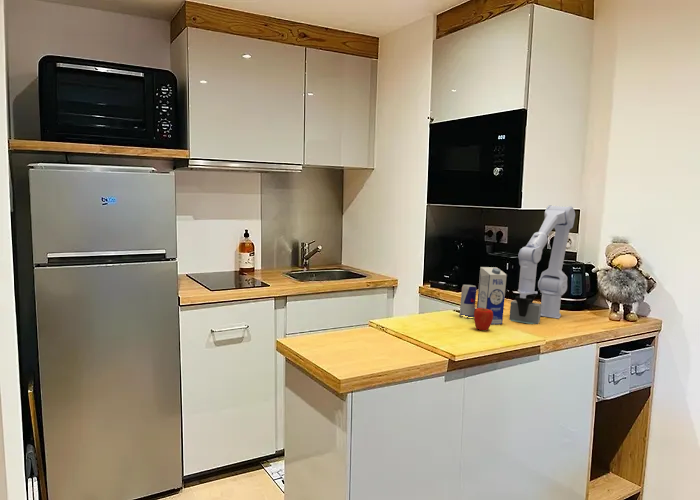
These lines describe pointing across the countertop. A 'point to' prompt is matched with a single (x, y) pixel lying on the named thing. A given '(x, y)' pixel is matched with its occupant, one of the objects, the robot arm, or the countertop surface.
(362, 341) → the countertop surface
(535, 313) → the grey rectangular box
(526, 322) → the tape square
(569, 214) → the robot arm
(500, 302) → the milk carton
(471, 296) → the energy drink
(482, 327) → the apple
